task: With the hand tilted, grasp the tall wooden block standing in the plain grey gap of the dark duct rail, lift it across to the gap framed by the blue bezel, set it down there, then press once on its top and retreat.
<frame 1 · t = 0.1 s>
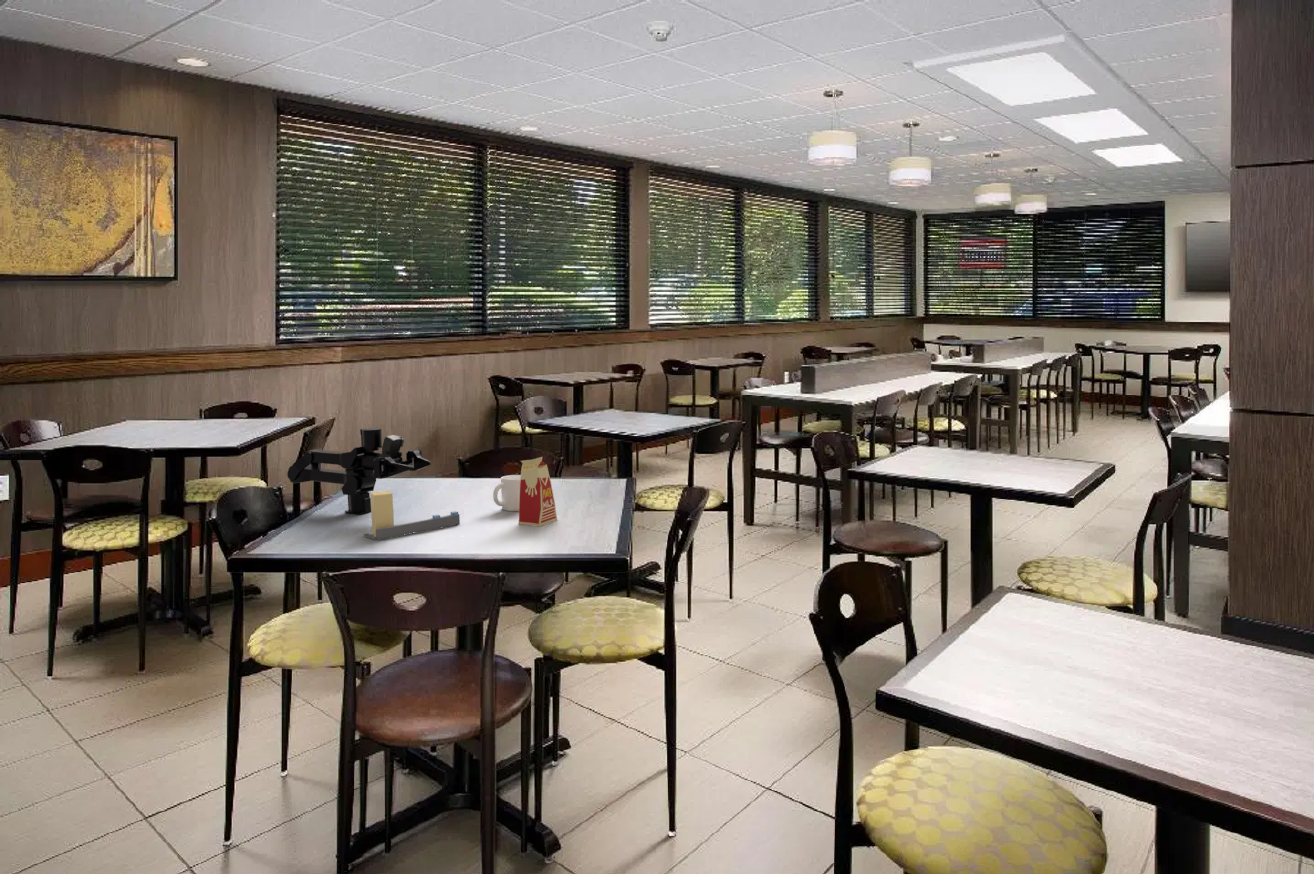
hand: (420, 465, 265), 17 cm above the table, tool horizontal, fingers open, 9 cm apart
milk carton: (536, 522, 263), on the table
mug: (510, 510, 280), on the table
wooden block: (383, 534, 250), on the table
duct: (409, 528, 256), on the table
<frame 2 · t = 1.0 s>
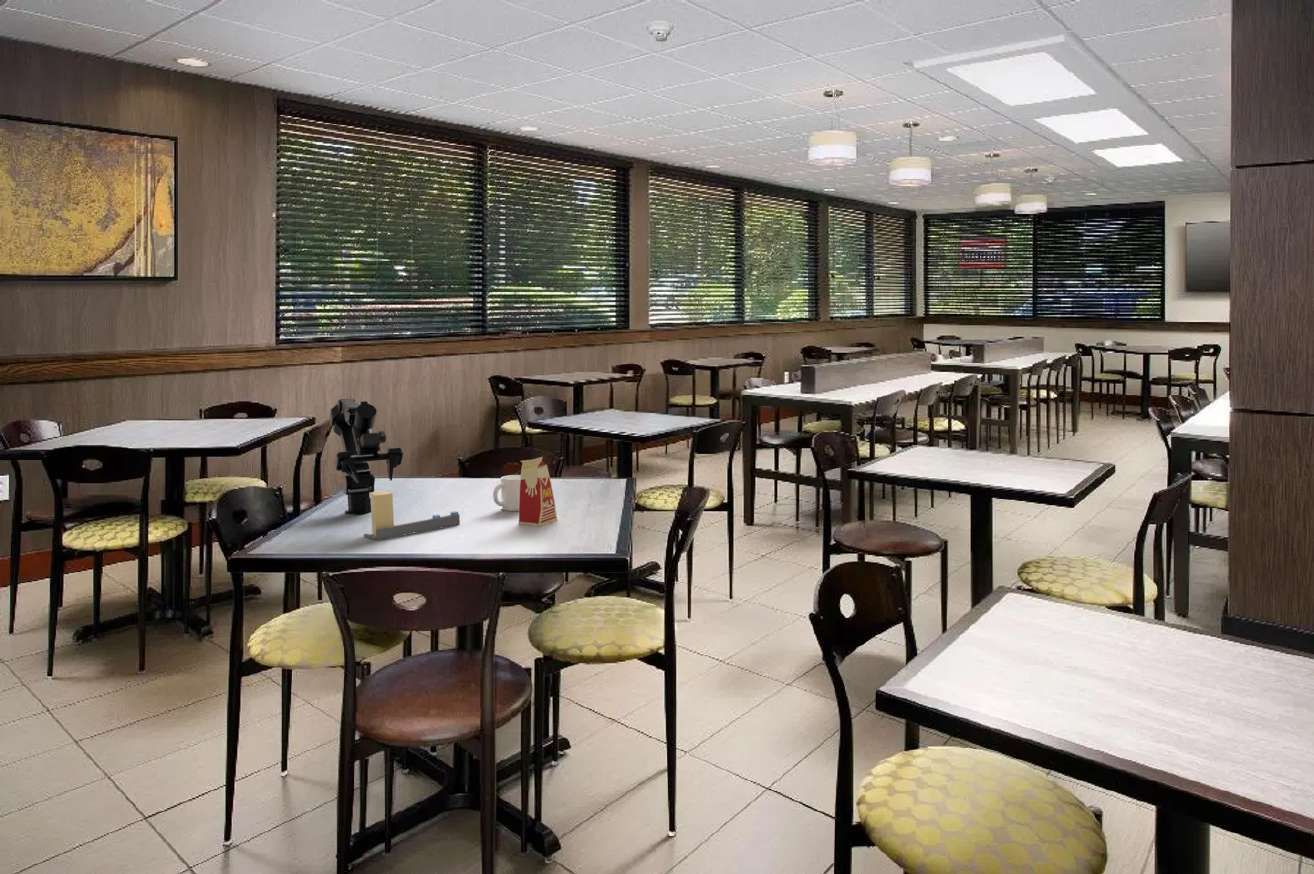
hand: (375, 481, 255), 14 cm above the table, tool tilted 45°, fingers open, 9 cm apart
nothing on the table moved.
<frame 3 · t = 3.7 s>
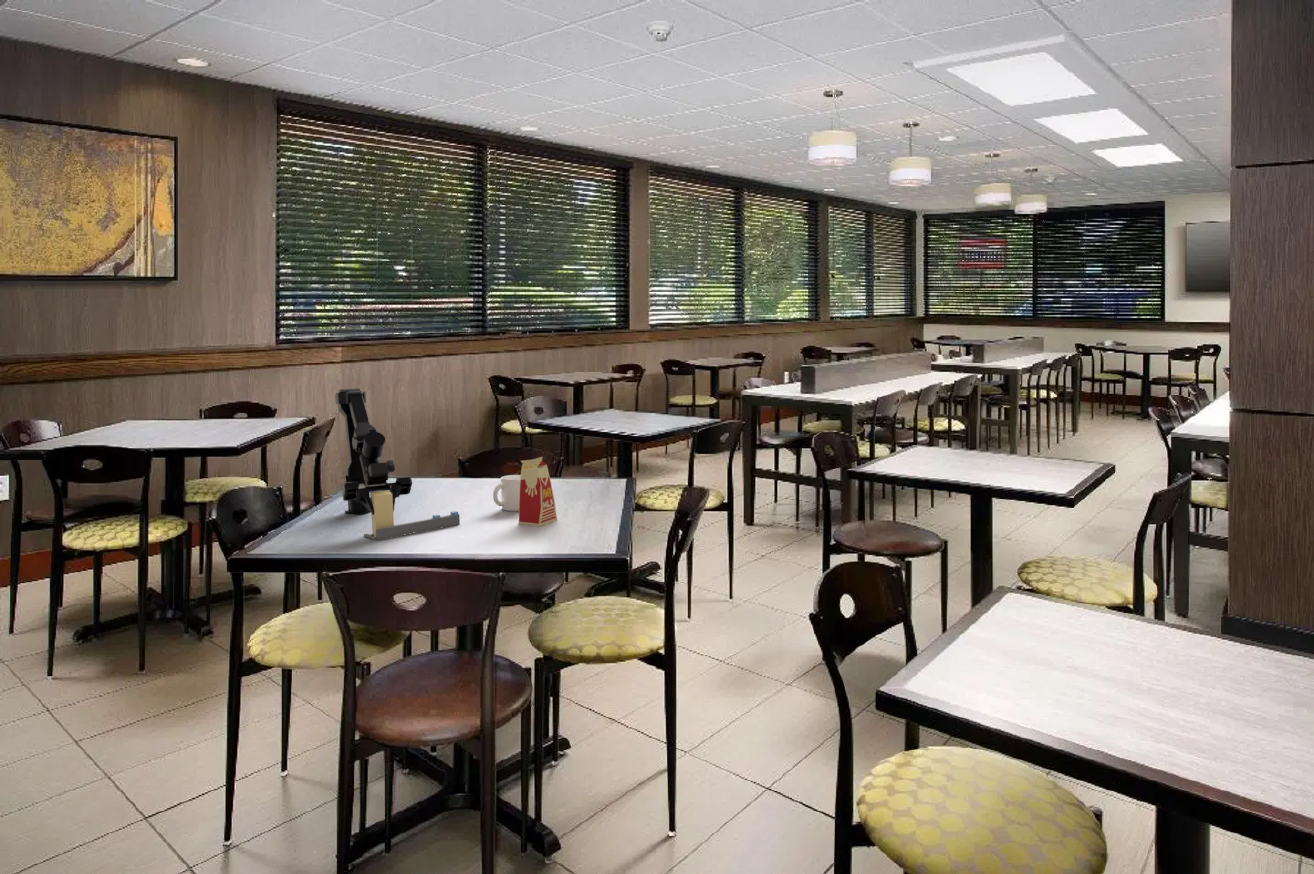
hand: (383, 512, 248), 7 cm above the table, tool tilted 45°, fingers closed on wooden block, 5 cm apart
wooden block: (383, 534, 250), on the table, touching gripper
everything else where it was.
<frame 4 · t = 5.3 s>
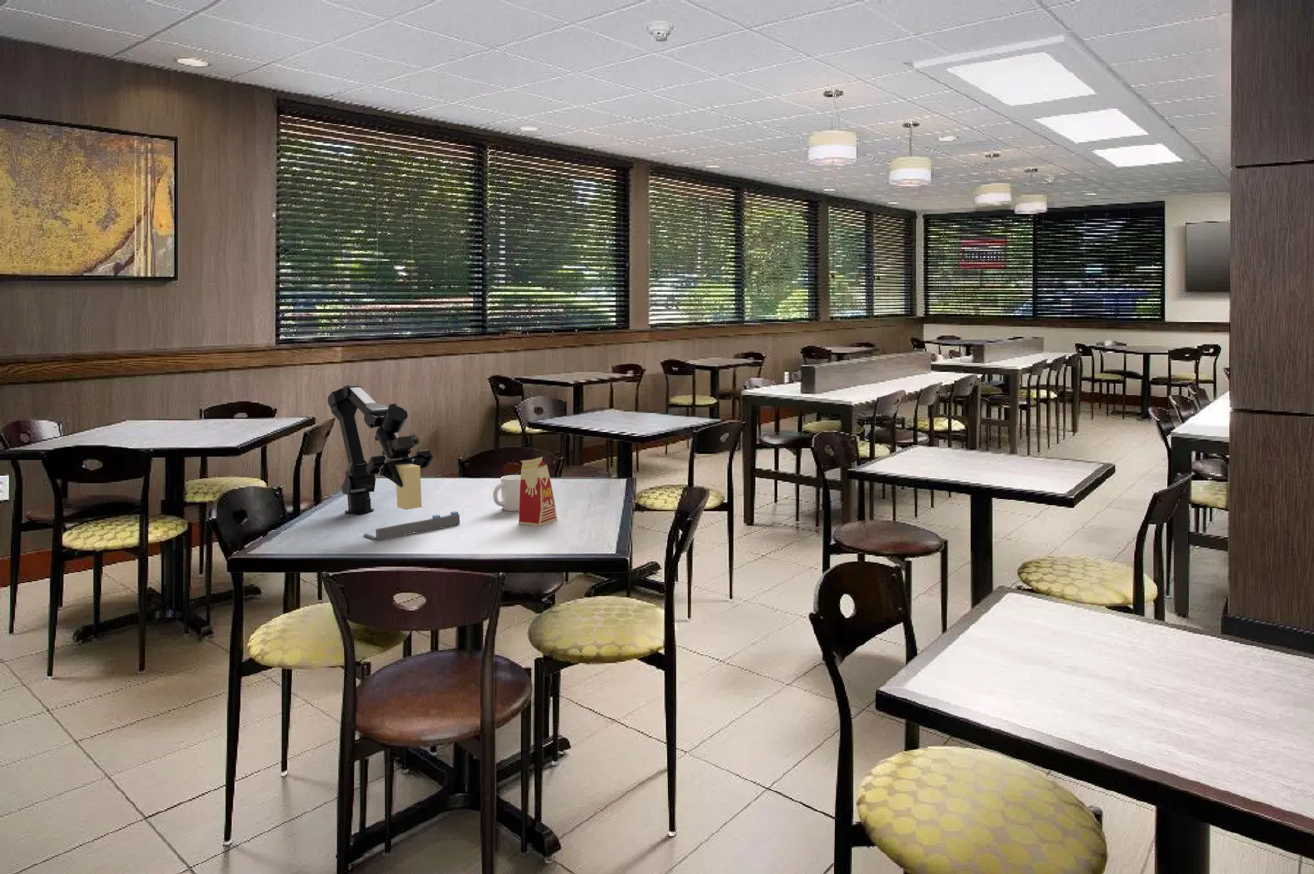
hand: (410, 485, 251), 13 cm above the table, tool tilted 45°, fingers closed on wooden block, 5 cm apart
wooden block: (409, 507, 253), point 7 cm above the table, touching gripper
everything else where it was.
when the fingers open (7 cm above the table, at t = 7.4 s): wooden block stays where it is, on the table.
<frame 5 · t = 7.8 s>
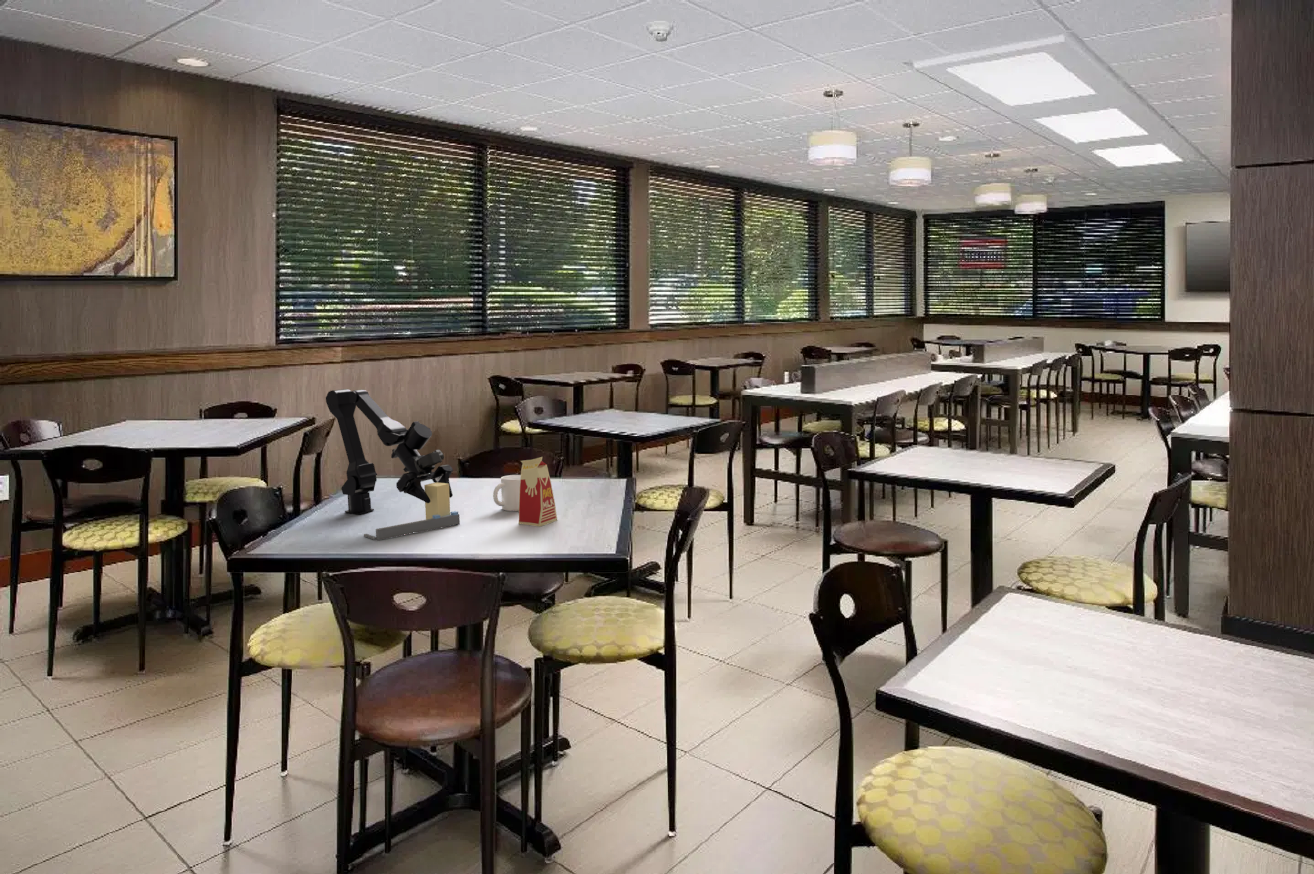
hand: (440, 499, 260), 8 cm above the table, tool tilted 45°, fingers open, 9 cm apart
wooden block: (438, 523, 262), on the table
everything else where it was.
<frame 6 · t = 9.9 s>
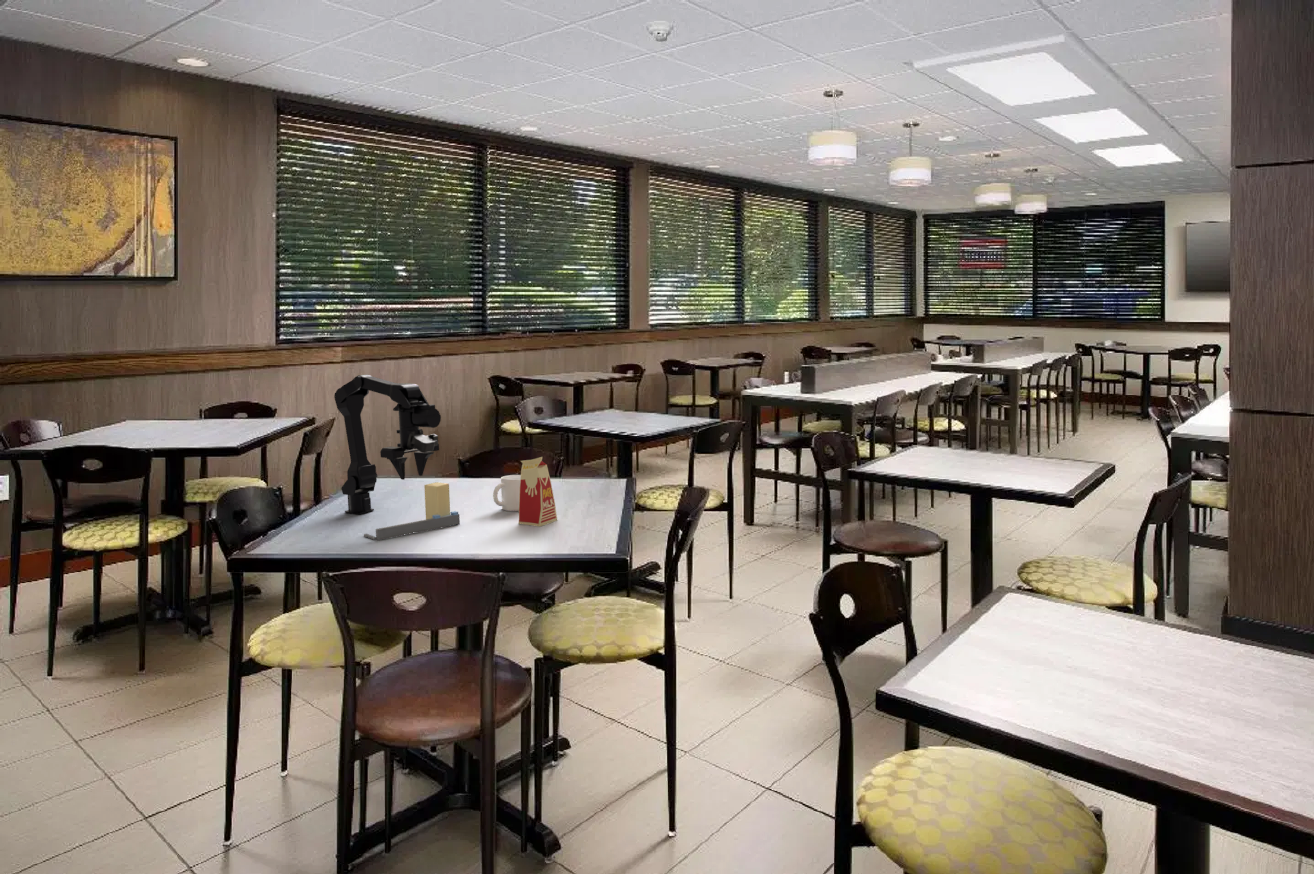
hand: (411, 477, 265), 13 cm above the table, tool pointing down, fingers open, 7 cm apart
nothing on the table moved.
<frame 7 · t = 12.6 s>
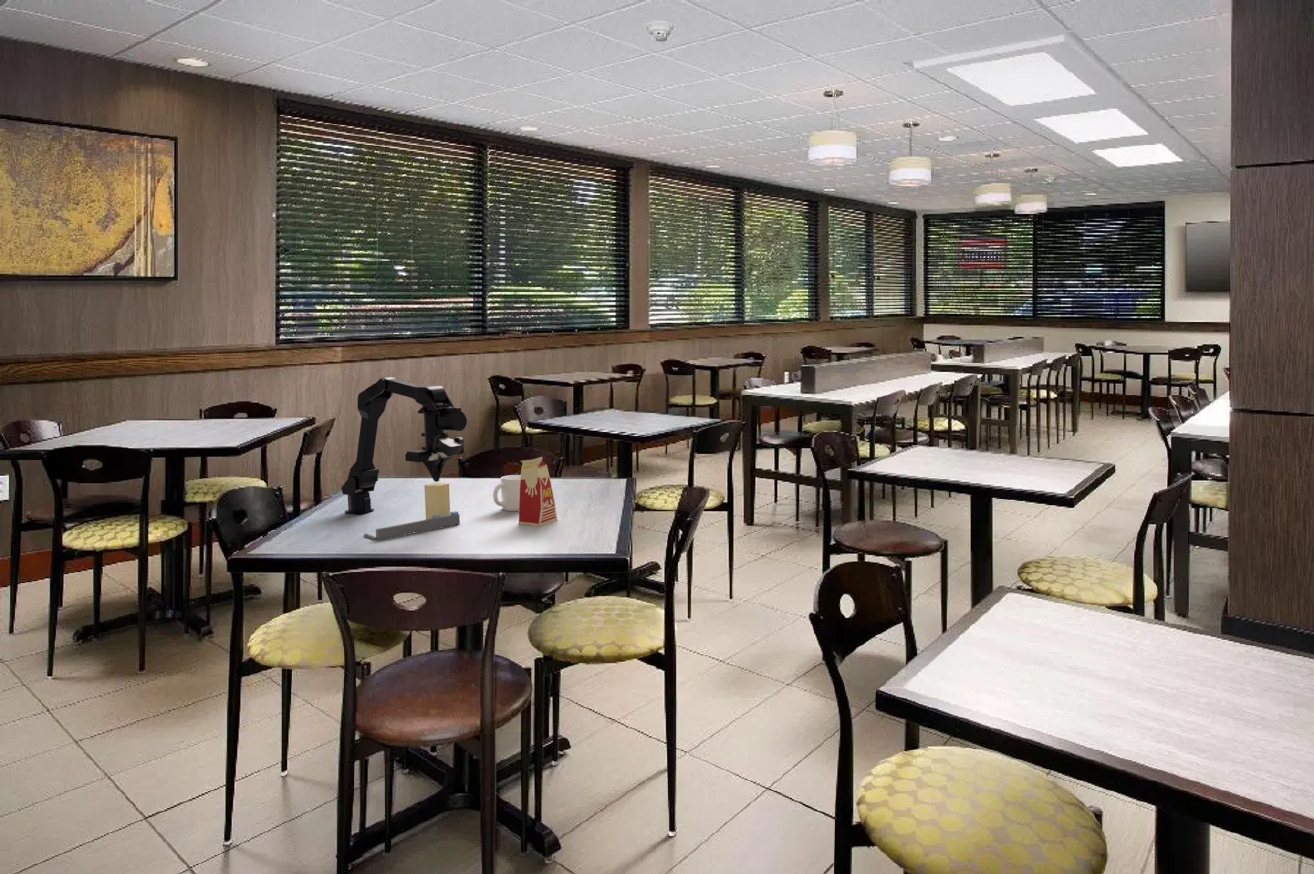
hand: (436, 481, 260), 13 cm above the table, tool pointing down, fingers closed
nothing on the table moved.
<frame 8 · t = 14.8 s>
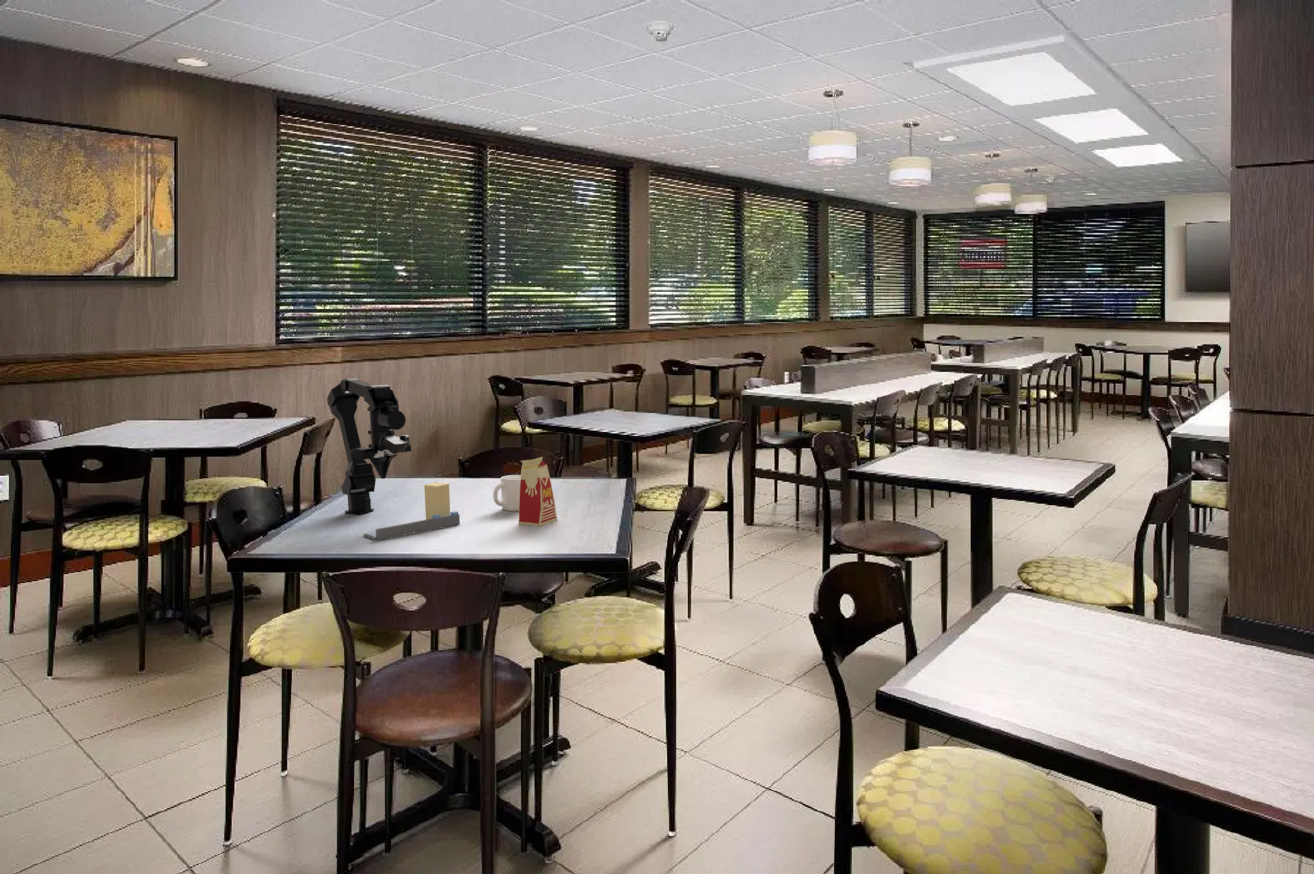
hand: (383, 478, 265), 13 cm above the table, tool pointing down, fingers closed
nothing on the table moved.
at the end: wooden block 0.0 cm from the target spot, on the table; wooden block tilted 0°; the gripper is holding nothing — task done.
